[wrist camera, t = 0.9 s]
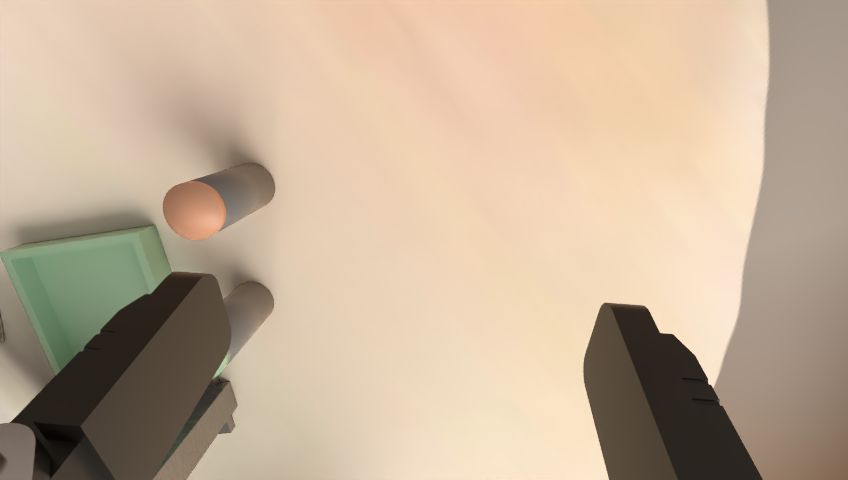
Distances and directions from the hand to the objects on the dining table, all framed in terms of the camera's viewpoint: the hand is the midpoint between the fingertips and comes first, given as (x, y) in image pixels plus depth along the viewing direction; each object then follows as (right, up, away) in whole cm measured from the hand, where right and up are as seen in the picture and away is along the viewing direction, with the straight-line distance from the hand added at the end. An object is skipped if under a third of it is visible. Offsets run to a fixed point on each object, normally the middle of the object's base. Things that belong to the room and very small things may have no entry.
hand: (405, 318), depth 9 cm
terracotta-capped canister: (-15, +7, +31) cm, 35 cm away
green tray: (-30, -4, +35) cm, 46 cm away
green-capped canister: (-16, -4, +34) cm, 38 cm away
